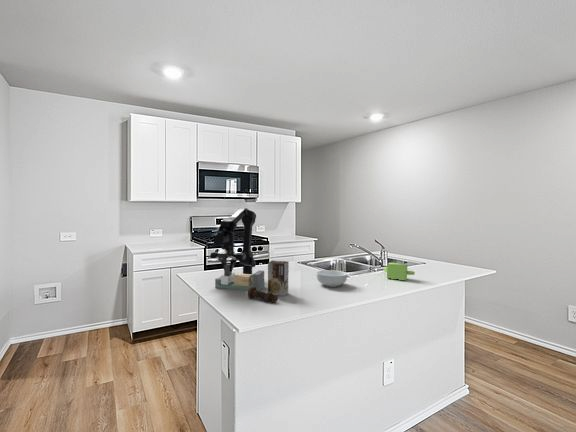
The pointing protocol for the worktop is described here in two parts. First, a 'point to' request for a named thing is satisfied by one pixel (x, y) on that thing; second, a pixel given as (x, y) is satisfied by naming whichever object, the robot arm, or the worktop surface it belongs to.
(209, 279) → the worktop surface
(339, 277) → the cereal bowl
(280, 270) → the coffee box
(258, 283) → the press frame
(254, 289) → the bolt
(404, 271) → the gearbox
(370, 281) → the worktop surface
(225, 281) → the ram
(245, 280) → the block
